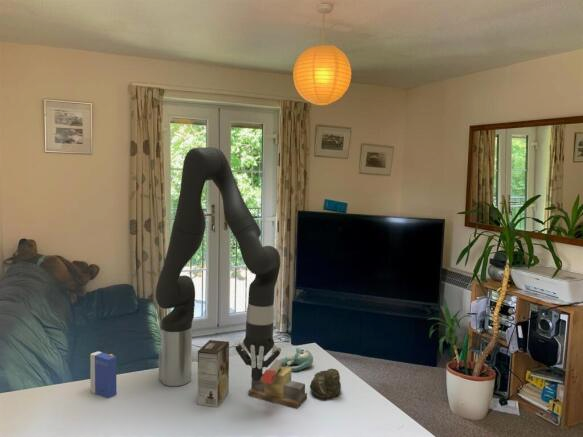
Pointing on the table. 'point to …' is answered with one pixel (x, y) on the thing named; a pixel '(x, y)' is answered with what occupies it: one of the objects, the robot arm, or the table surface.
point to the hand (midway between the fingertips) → (256, 379)
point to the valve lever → (272, 372)
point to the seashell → (326, 383)
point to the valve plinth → (280, 389)
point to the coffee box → (213, 373)
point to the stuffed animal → (299, 360)
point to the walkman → (103, 374)
